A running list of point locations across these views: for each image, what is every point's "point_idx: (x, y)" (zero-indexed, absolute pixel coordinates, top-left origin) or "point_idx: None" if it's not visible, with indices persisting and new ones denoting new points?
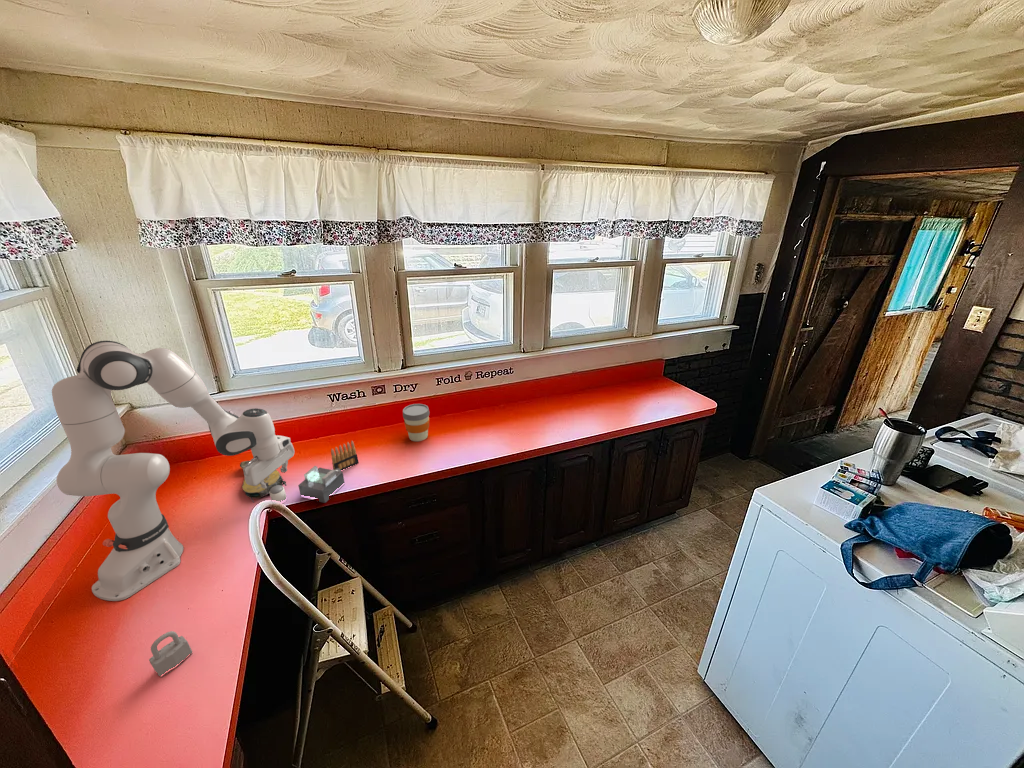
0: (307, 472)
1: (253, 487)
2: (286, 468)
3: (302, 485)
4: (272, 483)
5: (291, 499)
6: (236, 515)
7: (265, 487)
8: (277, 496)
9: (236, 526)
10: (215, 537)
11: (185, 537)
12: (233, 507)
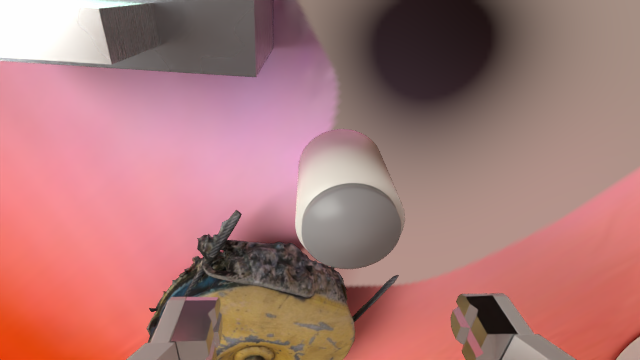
0: (38, 44)
1: (322, 348)
2: (166, 327)
3: (242, 22)
4: (267, 293)
5: (308, 109)
6: (470, 284)
7: (511, 304)
8: (390, 179)
9: (553, 237)
10: (618, 265)
11: (591, 348)
12: (417, 324)
